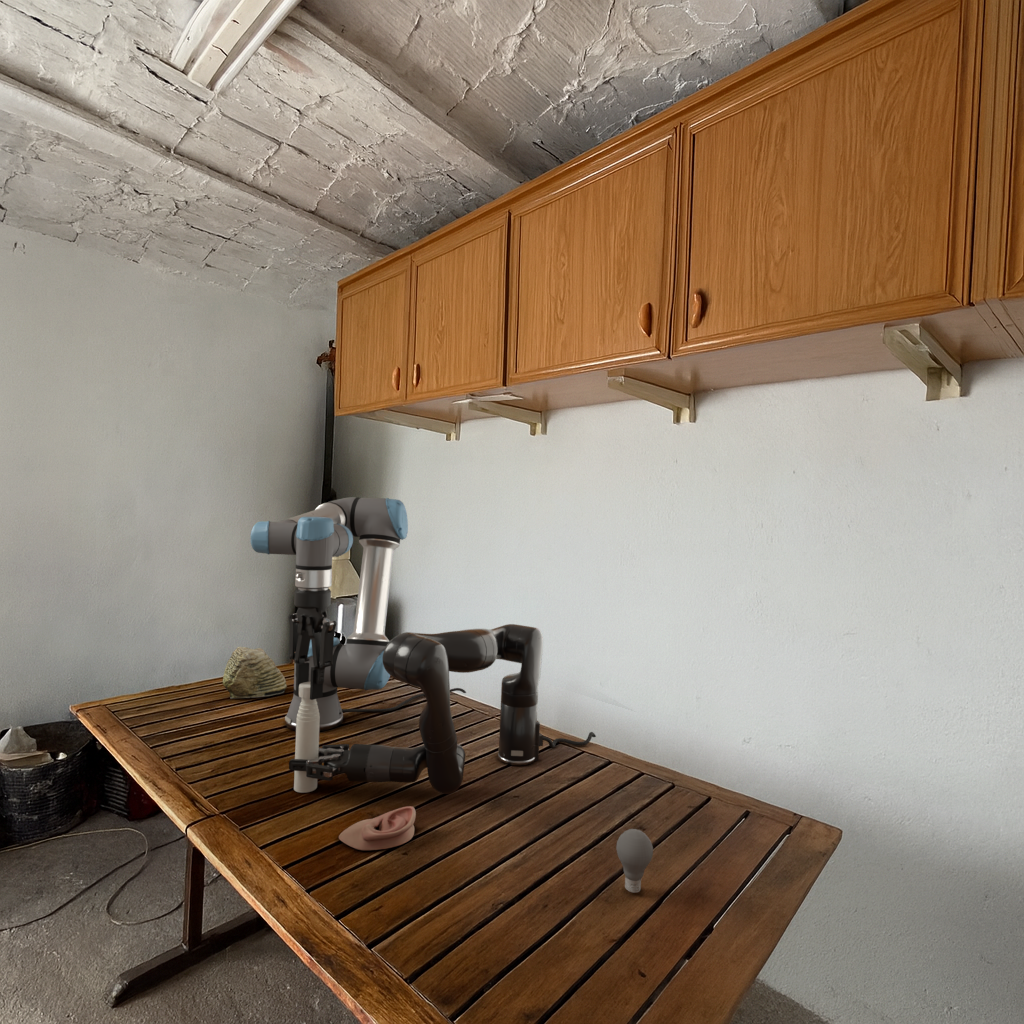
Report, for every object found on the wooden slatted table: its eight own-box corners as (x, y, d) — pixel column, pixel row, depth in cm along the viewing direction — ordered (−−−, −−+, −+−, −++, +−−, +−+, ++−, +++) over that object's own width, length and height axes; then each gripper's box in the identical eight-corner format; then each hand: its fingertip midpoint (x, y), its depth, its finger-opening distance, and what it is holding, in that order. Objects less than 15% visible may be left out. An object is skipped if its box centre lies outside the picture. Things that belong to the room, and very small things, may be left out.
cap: (294, 695, 137) (294, 684, 137) (311, 691, 140) (311, 680, 140) (306, 699, 134) (307, 688, 134) (323, 695, 138) (324, 684, 138)
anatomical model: (331, 824, 115) (359, 795, 126) (330, 845, 115) (358, 815, 126) (400, 835, 112) (422, 805, 124) (399, 857, 112) (421, 825, 124)
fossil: (218, 695, 195) (220, 647, 195) (278, 685, 208) (279, 640, 207) (228, 703, 189) (230, 653, 188) (289, 692, 201) (290, 645, 201)
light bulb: (610, 879, 108) (613, 822, 108) (644, 879, 109) (647, 822, 109) (619, 902, 102) (622, 840, 102) (655, 901, 103) (658, 840, 103)
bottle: (304, 780, 141) (308, 683, 140) (321, 785, 139) (325, 687, 138) (289, 789, 136) (292, 689, 136) (306, 794, 134) (310, 693, 134)
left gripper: (273, 585, 139) (269, 691, 139) (324, 594, 129) (320, 708, 129) (302, 582, 145) (299, 683, 145) (353, 591, 135) (349, 700, 135)
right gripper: (380, 733, 144) (306, 730, 145) (364, 759, 130) (282, 755, 130) (379, 766, 144) (304, 762, 145) (363, 795, 130) (280, 791, 130)
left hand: (309, 695), depth 137 cm, fingers closed on cap, 4 cm apart
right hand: (294, 759), depth 137 cm, fingers closed on bottle, 5 cm apart
